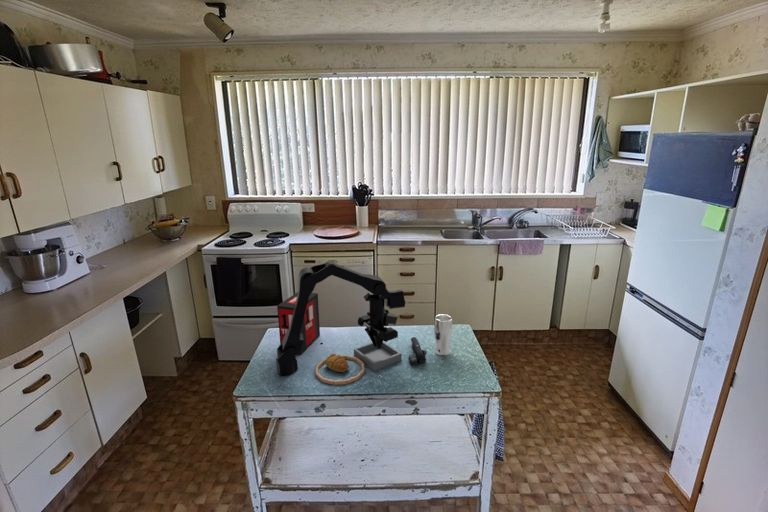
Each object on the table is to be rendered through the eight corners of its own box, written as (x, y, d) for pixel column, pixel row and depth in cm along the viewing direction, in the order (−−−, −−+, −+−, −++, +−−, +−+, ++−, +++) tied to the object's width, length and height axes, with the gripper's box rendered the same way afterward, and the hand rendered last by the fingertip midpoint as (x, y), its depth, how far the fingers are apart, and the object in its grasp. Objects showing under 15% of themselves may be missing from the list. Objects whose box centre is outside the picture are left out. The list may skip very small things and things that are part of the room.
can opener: (428, 367, 145) (428, 353, 143) (409, 367, 145) (409, 354, 143) (422, 344, 162) (422, 331, 160) (405, 344, 162) (405, 332, 160)
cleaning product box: (301, 334, 171) (298, 291, 166) (320, 336, 168) (317, 293, 163) (281, 352, 156) (277, 305, 150) (300, 355, 153) (297, 308, 148)
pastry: (353, 368, 143) (353, 359, 143) (339, 375, 139) (339, 366, 138) (336, 359, 150) (336, 350, 149) (323, 366, 145) (322, 356, 144)
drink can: (454, 355, 153) (456, 319, 149) (438, 358, 150) (440, 322, 146) (445, 347, 159) (446, 313, 155) (430, 350, 157) (431, 315, 153)
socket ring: (330, 390, 131) (330, 387, 131) (308, 367, 145) (307, 364, 144) (373, 373, 141) (373, 370, 141) (348, 353, 154) (348, 350, 154)
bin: (374, 371, 142) (374, 364, 141) (354, 355, 153) (353, 348, 152) (401, 360, 149) (401, 353, 148) (380, 346, 160) (380, 339, 159)
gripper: (409, 312, 143) (409, 351, 147) (379, 297, 157) (380, 332, 162) (385, 320, 137) (385, 360, 141) (356, 304, 151) (357, 340, 155)
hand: (377, 347), depth 150 cm, fingers closed
